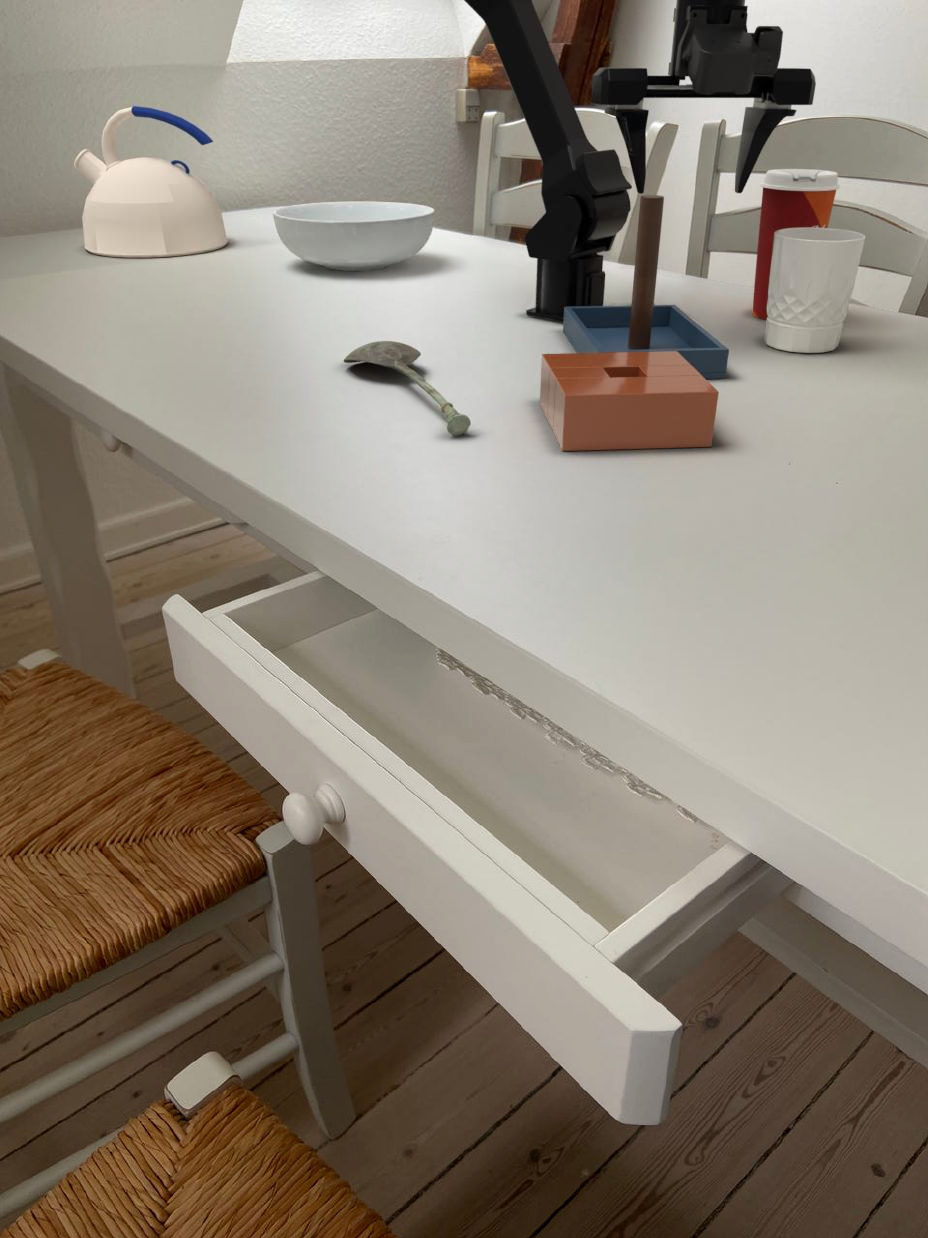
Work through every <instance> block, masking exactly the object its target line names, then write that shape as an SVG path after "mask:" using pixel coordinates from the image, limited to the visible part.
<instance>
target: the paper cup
mask: <svg viewBox="0 0 928 1238" xmlns="http://www.w3.org/2000/svg"><path fill="white" fill-rule="evenodd" d="M838 181H839V174H838V172H836V171H833V170H825V169H813V168H811V169H810V168H808V169H807V168H777V169H769V170H767V171H766V172H765V176H764V180H763V181H761V182H760V184H759V186H760V187H762V193H761V194H762V195H761V206H760V217H759V229H758V237H757V249H756V250H757V251H756V261H755V262H756V263H755V274H754V285H753V297H752V298H753V299H752V302H753V303H752V316H753V317H755V318H757V319H760V320H765V321H766V320H767V317H768V315H767V301H768V289H769V278H770V269H771V260H772V251H773V242H774V233H775V231H777V230H780V229H786V228H801V227H813V228H829V224H830V220H831V216H832V210H833V206H834V202H835V198H836V194H837V190H840V189H841V185H840V184H839V183H838Z"/></svg>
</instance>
